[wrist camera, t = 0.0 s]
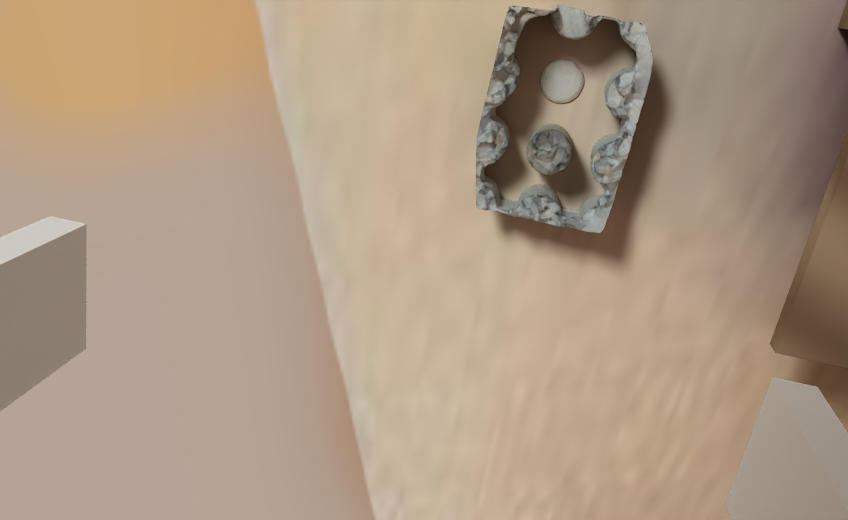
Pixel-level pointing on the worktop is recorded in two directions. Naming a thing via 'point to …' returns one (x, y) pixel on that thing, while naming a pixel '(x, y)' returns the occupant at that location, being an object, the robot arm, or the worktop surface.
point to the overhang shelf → (821, 279)
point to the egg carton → (552, 141)
